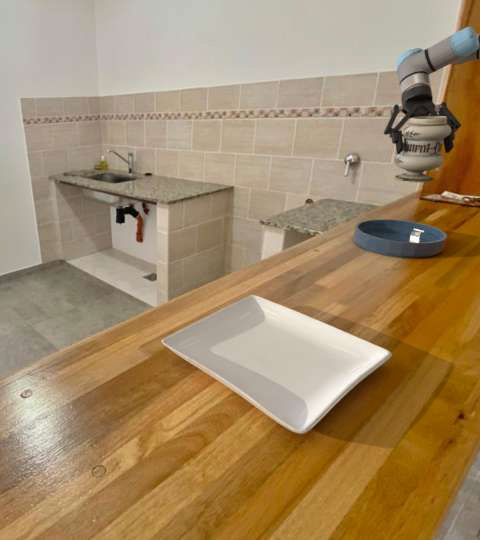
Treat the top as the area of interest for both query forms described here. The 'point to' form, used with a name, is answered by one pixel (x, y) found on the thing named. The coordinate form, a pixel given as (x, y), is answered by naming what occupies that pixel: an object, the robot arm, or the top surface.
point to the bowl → (399, 238)
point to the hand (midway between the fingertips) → (424, 150)
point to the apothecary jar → (422, 147)
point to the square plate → (278, 359)
